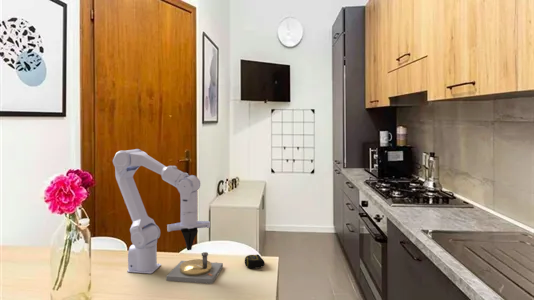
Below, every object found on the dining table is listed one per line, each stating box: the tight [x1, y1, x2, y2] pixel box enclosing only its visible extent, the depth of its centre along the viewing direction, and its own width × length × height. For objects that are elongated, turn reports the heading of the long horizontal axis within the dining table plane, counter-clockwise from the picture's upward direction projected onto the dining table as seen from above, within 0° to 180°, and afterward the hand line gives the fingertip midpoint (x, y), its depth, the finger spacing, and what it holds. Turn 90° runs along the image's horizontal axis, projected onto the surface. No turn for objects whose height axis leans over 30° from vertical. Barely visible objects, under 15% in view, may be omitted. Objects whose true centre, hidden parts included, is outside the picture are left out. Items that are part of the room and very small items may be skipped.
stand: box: [165, 260, 224, 285], centre depth 128 cm, size 16×14×2 cm
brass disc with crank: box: [180, 251, 212, 276], centre depth 127 cm, size 11×11×7 cm
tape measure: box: [244, 254, 266, 270], centre depth 134 cm, size 7×7×4 cm
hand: (189, 249), depth 126 cm, fingers closed
